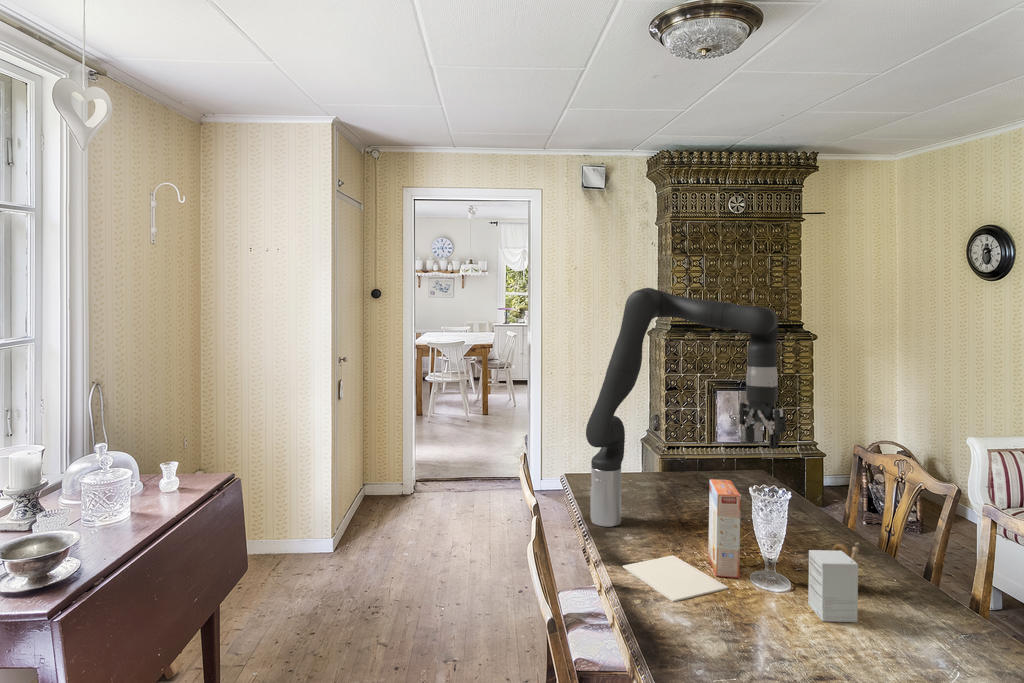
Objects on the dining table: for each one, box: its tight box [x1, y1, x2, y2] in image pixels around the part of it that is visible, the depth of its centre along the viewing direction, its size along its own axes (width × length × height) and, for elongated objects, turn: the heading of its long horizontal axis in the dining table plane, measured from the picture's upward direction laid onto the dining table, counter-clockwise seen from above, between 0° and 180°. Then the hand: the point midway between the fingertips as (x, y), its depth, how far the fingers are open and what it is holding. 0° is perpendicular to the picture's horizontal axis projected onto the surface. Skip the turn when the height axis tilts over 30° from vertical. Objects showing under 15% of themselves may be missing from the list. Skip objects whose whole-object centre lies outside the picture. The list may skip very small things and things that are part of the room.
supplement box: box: [807, 549, 859, 623], centre depth 126 cm, size 7×7×13 cm
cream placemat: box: [622, 555, 729, 603], centre depth 144 cm, size 20×16×1 cm
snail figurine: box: [832, 542, 860, 563], centre depth 138 cm, size 5×6×12 cm
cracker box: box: [707, 478, 742, 579], centre depth 150 cm, size 14×6×21 cm, turn 168°
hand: (761, 445), depth 153 cm, fingers open, 8 cm apart
